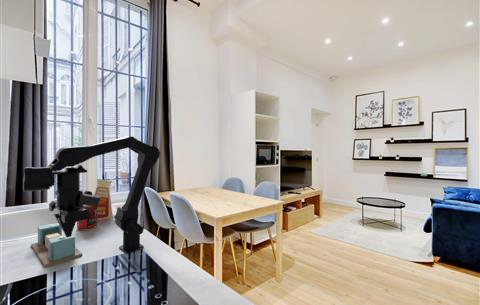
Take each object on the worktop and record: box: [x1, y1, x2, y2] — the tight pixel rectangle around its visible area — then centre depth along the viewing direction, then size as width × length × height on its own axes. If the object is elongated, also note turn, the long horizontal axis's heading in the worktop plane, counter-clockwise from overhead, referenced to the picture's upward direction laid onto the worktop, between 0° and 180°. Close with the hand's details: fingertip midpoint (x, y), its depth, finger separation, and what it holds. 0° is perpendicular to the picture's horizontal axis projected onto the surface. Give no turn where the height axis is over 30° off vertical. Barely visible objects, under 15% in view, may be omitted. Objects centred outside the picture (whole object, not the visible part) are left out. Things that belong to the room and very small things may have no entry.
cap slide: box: [48, 233, 76, 261], centre depth 77 cm, size 4×6×6 cm, turn 141°
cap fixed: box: [37, 222, 63, 246], centre depth 87 cm, size 4×6×6 cm, turn 141°
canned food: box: [76, 205, 98, 231], centre depth 104 cm, size 8×8×11 cm
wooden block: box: [45, 233, 61, 248], centre depth 82 cm, size 10×4×4 cm, turn 54°
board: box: [30, 241, 83, 268], centre depth 82 cm, size 21×10×1 cm, turn 51°
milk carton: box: [93, 178, 114, 221], centre depth 118 cm, size 9×9×20 cm
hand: (68, 236), depth 72 cm, fingers closed
